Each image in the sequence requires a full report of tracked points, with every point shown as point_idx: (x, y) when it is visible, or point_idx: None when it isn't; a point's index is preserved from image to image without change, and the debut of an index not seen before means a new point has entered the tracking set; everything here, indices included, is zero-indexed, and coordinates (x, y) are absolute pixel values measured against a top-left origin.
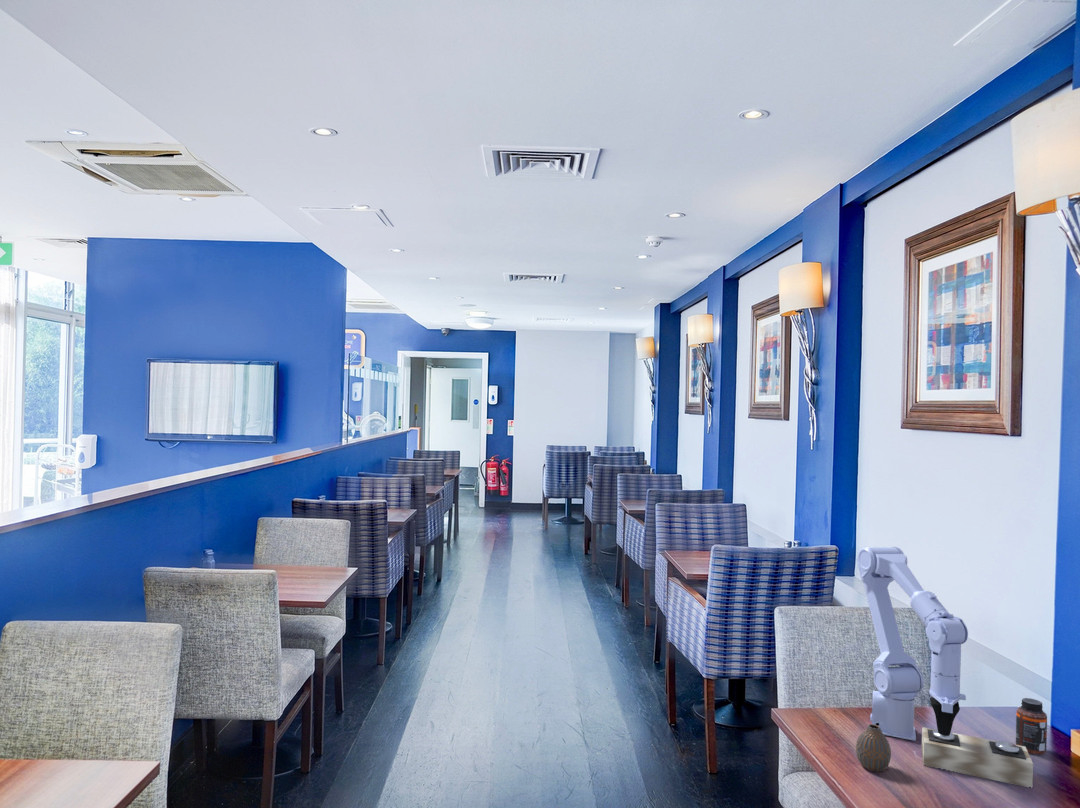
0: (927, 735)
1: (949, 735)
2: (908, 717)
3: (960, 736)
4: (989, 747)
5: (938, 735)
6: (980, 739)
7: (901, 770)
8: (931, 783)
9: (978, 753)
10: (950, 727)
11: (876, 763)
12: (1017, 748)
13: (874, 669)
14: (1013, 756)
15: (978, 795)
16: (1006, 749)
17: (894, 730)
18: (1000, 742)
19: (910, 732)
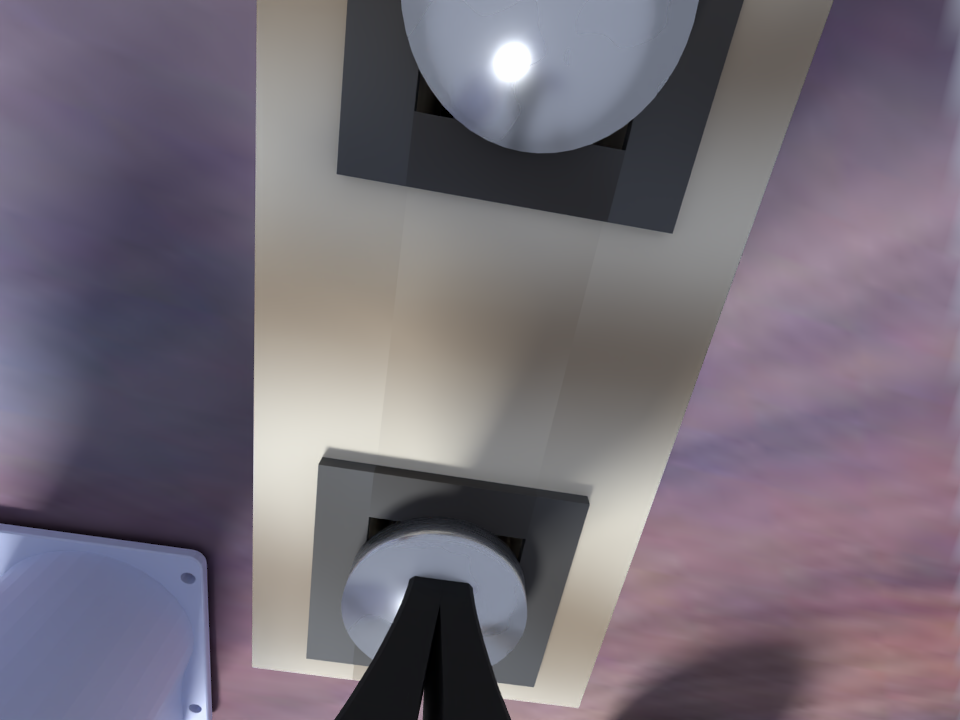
0: None
1: (464, 580)
2: (84, 709)
3: (315, 434)
4: (512, 218)
5: (502, 658)
6: (299, 252)
7: (653, 671)
8: (783, 579)
9: (695, 376)
10: (483, 659)
11: None
12: None
13: None
14: None
15: (913, 379)
16: (677, 53)
17: (179, 671)
18: (462, 66)
19: (137, 591)
